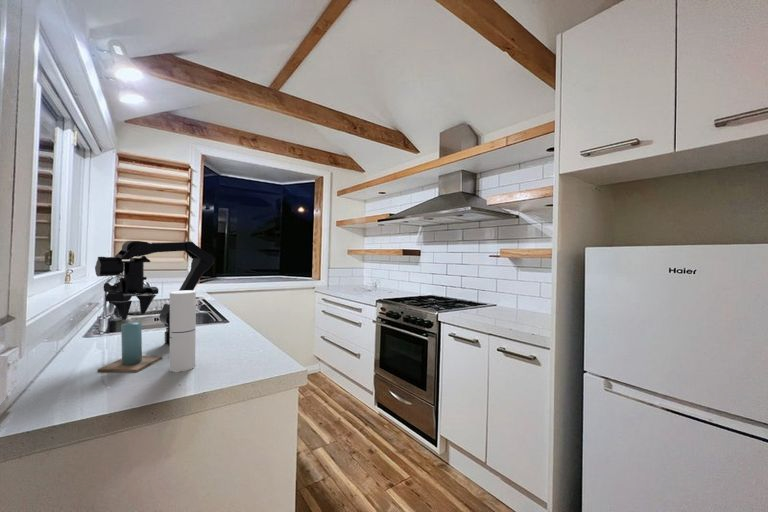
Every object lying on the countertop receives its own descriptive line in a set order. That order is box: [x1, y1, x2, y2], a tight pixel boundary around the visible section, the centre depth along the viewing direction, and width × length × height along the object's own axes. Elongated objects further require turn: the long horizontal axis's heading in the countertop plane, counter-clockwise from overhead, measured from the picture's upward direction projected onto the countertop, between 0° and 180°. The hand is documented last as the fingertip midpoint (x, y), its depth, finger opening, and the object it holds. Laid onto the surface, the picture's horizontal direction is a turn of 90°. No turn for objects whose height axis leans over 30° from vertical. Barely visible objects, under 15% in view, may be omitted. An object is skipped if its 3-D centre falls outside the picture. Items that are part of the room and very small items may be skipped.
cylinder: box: [120, 321, 143, 365], centre depth 105 cm, size 5×5×13 cm
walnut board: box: [97, 355, 163, 373], centre depth 105 cm, size 12×12×1 cm
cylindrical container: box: [169, 290, 197, 373], centre depth 103 cm, size 7×7×25 cm
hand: (133, 316), depth 117 cm, fingers open, 9 cm apart
